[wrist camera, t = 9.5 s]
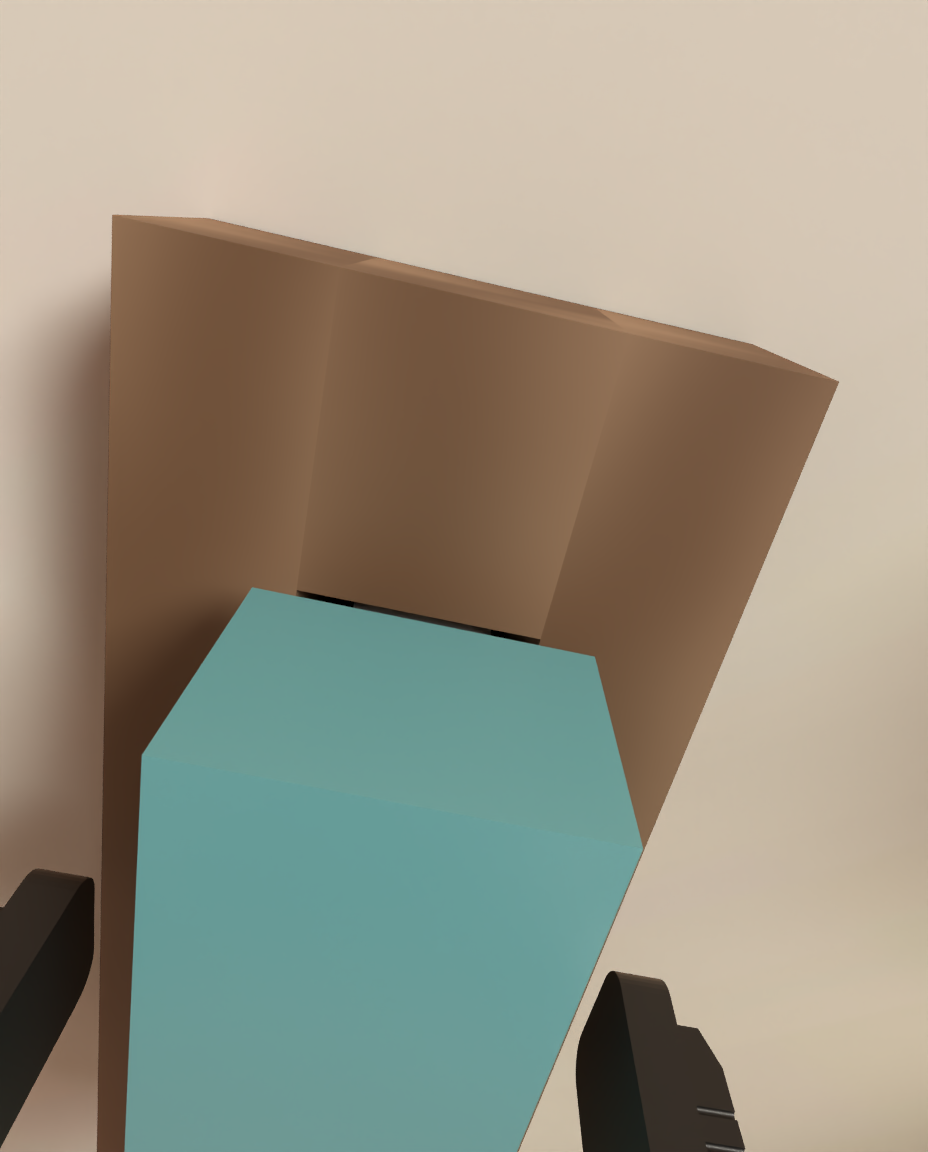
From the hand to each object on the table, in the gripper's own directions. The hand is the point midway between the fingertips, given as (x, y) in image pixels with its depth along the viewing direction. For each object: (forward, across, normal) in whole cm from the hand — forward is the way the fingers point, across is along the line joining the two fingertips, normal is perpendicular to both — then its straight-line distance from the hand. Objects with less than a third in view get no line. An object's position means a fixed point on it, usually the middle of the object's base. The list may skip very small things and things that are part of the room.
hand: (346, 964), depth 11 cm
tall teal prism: (+4, 0, 0) cm, 4 cm away
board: (+4, 0, 0) cm, 4 cm away
